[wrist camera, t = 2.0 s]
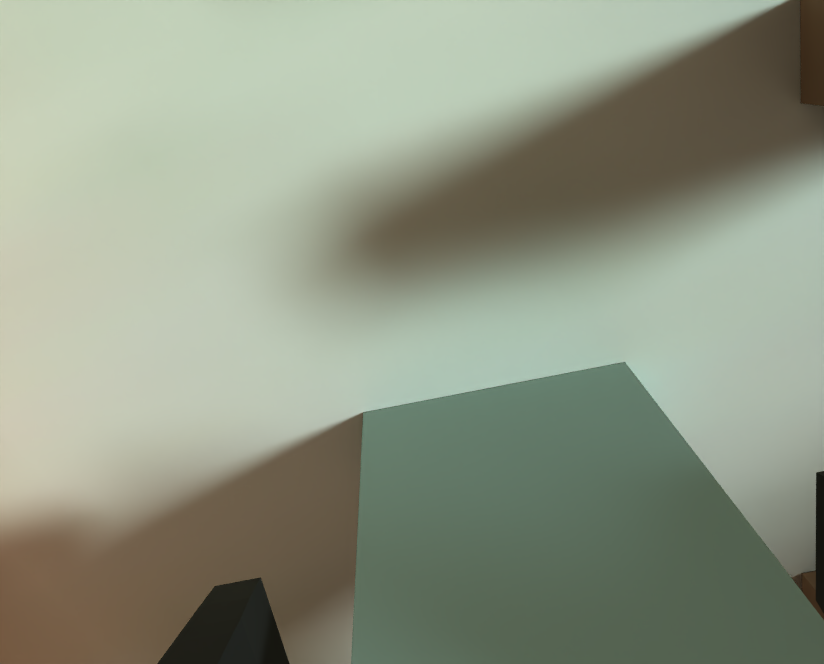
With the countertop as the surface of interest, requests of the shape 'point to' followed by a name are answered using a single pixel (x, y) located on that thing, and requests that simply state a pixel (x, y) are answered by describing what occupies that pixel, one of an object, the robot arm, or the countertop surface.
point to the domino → (560, 537)
